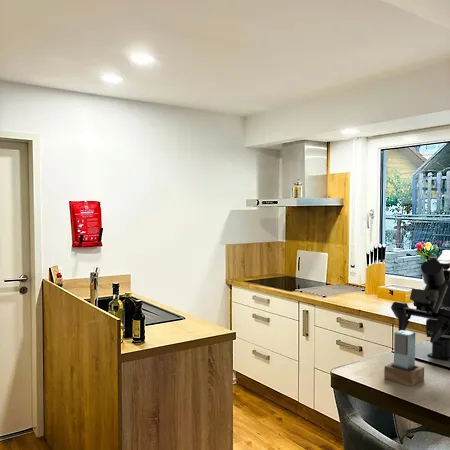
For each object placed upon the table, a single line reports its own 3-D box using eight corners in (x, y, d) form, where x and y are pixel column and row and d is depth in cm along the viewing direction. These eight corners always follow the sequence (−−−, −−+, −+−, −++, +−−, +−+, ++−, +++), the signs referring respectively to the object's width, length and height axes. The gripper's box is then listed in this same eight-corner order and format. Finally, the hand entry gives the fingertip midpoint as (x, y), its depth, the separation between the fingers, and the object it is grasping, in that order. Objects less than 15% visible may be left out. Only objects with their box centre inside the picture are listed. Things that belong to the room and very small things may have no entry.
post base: (397, 372, 133) (398, 360, 133) (424, 379, 128) (424, 367, 128) (384, 378, 128) (384, 366, 128) (410, 386, 123) (411, 373, 123)
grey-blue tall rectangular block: (400, 375, 131) (401, 329, 131) (414, 379, 128) (415, 332, 128) (392, 379, 128) (393, 332, 128) (406, 383, 125) (407, 335, 125)
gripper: (394, 274, 142) (374, 316, 135) (458, 282, 128) (439, 328, 121) (406, 297, 147) (388, 338, 140) (468, 306, 134) (451, 352, 126)
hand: (414, 338), depth 132 cm, fingers open, 9 cm apart
